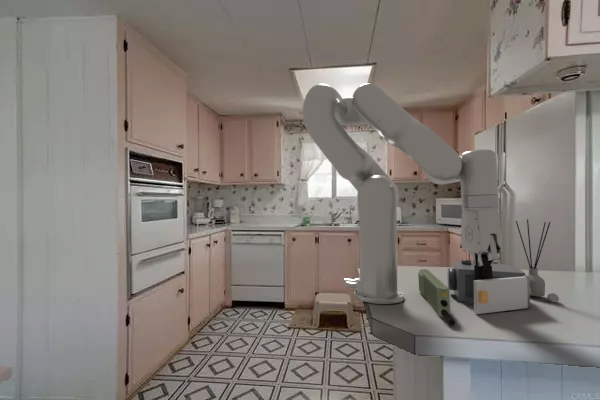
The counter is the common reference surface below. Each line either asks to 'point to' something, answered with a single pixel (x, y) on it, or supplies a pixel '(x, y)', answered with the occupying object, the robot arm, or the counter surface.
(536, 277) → the reed diffuser
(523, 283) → the side door
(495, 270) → the camera housing
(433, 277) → the handheld radio
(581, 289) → the counter surface
